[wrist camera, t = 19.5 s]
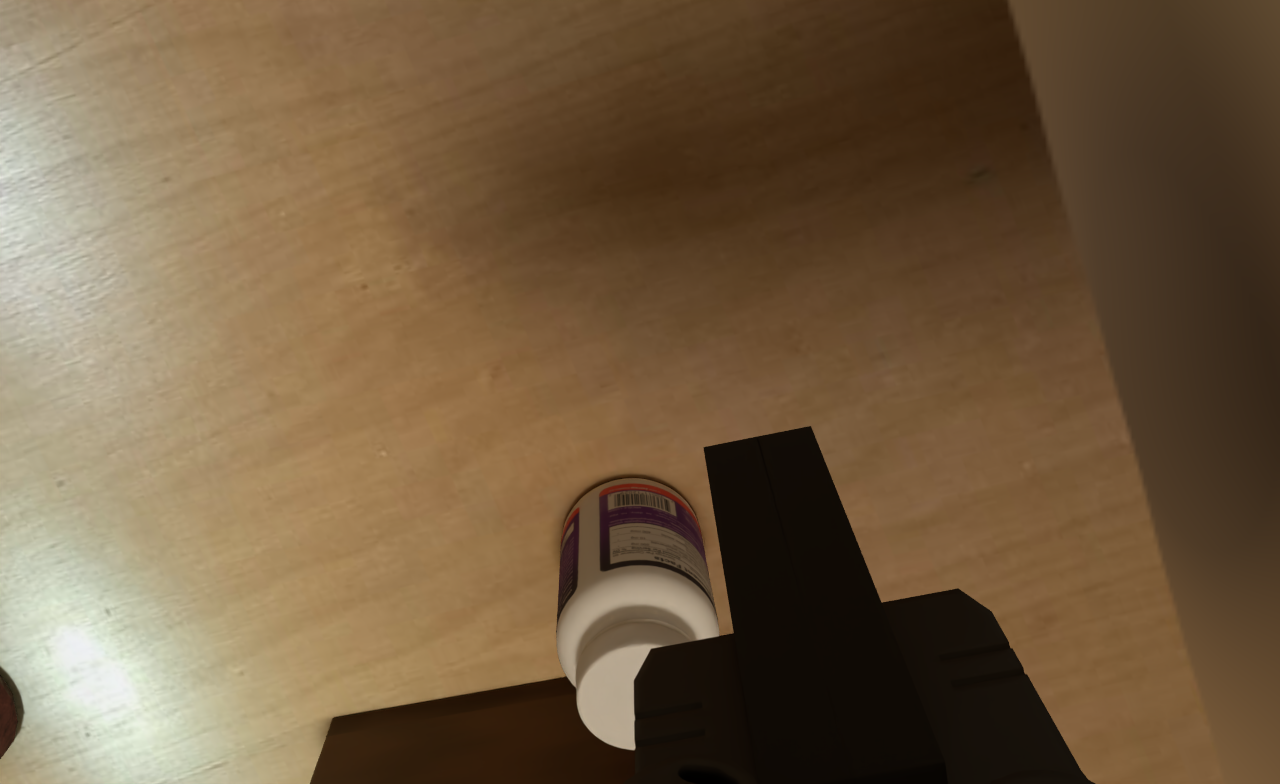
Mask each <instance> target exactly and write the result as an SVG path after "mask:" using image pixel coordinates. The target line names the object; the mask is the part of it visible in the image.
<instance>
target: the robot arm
mask: <svg viewBox="0 0 1280 784" xmlns="http://www.w3.org/2000/svg"><path fill="white" fill-rule="evenodd" d="M704 453H705V459H706V465H707V471H708V478H709V484H710V490H711V496H712V502H713V508H714V514H715V520H716V526H717V532H718V539H719V545H720V551H721V557H722V563H723V569H724V575H725V581H726V587H727V594H728V600H729V606H730V612H731V618H732V624H733V630H734V633H733V634H728V635H722V636H717V637H712V638H706V639H701V640H696V641H690V642H685V643H679V644H674V645H669V646H663V647H658V648H653V649H651V650H650V652H649V653H648V655H647V657H646V659H645V661H644V663H643V664H642V666H641V668H640V670H639V672H638V674H637V675H636V677H635V679H634V715H635V720H634V739H635V747H636V748H635V775H633V776H632V777H630V778H629V779H627V780H626V781H625V782H624V783H623V784H1095V783H1093V782H1091V781H1090V780H1088V779H1087V778H1086V776H1085V775H1084V774H1083V772H1082V771H1081V770H1080V768H1079V766H1078V764H1077V762H1076V761H1075V759H1074V757H1073V755H1072V754H1071V752H1070V750H1069V748H1068V747H1067V745H1066V743H1065V741H1064V739H1063V738H1062V736H1061V734H1060V732H1059V731H1058V729H1057V727H1056V725H1055V723H1054V722H1053V720H1052V718H1051V716H1050V715H1049V713H1048V711H1047V709H1046V707H1045V706H1044V704H1043V702H1042V700H1041V699H1040V697H1039V695H1038V693H1037V691H1036V690H1035V688H1034V686H1033V684H1032V683H1031V681H1030V679H1029V677H1028V675H1027V674H1026V675H1025V673H1024V670H1023V667H1022V665H1021V663H1020V661H1019V659H1018V658H1017V656H1016V654H1015V652H1014V651H1013V649H1011V648H1010V646H1009V642H1008V640H1007V638H1006V636H1005V635H1004V633H1003V631H1002V629H1001V628H1000V626H999V624H998V622H997V620H996V619H995V617H994V615H993V613H992V612H991V611H990V610H989V609H987V608H986V607H984V606H983V605H981V604H980V603H978V602H977V601H975V600H974V599H973V598H971V597H970V596H968V595H967V594H965V593H964V592H962V591H961V590H960V589H953V590H948V591H942V592H937V593H932V594H926V595H921V596H915V597H910V598H905V599H899V600H894V601H889V602H883V603H881V600H880V598H879V595H878V593H877V590H876V588H875V585H874V583H873V580H872V578H871V575H870V573H869V570H868V568H867V565H866V563H865V560H864V558H863V555H862V553H861V550H860V548H859V545H858V543H857V540H856V538H855V535H854V533H853V530H852V528H851V525H850V523H849V520H848V518H847V515H846V513H845V510H844V508H843V505H842V503H841V500H840V498H839V495H838V493H837V490H836V488H835V485H834V483H833V480H832V478H831V475H830V473H829V470H828V468H827V465H826V463H825V460H824V458H823V455H822V453H821V450H820V448H819V445H818V443H817V440H816V438H815V435H814V433H813V430H812V428H811V426H809V427H804V428H799V429H794V430H789V431H784V432H778V433H773V434H768V435H763V436H758V437H753V438H748V439H743V440H738V441H733V442H728V443H723V444H718V445H713V446H708V447H704Z"/></svg>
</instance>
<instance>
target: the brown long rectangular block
mask: <svg viewBox="0 0 1280 784" xmlns="http://www.w3.org/2000/svg"><path fill="white" fill-rule="evenodd" d="M633 775H635V750H628V749H622V748H618V747H615V746H612V745H610V744H607V743H605V742H604V741H602V740H600V739H599V738H597V737H596V736H595V735H594V734H593V733H591V732H590V731H589V729H588V728H587V727H586V726H585V724H584V723H583V721H582V719H581V717H580V715H579V712H578V708H577V701H576V687H575V686H574V685H573V684H572V683H571V682H570V680H569V679H568V678H563V679H557V680H551V681H545V682H540V683H534V684H528V685H522V686H517V687H511V688H505V689H499V690H494V691H488V692H482V693H476V694H471V695H465V696H459V697H453V698H447V699H442V700H436V701H430V702H424V703H419V704H413V705H407V706H401V707H396V708H390V709H384V710H378V711H373V712H367V713H361V714H355V715H350V716H344V717H338V718H333V719H332V722H331V725H330V728H329V731H328V733H327V736H326V740H325V742H324V745H323V748H322V751H321V754H320V756H319V759H318V762H317V765H316V768H315V770H314V773H313V776H312V779H311V782H310V784H623V783H624V782H625V781H626V780H627V779H629V778H630V777H632V776H633Z"/></svg>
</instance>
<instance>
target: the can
mask: <svg viewBox="0 0 1280 784" xmlns="http://www.w3.org/2000/svg"><path fill="white" fill-rule="evenodd" d="M17 722H18V720H17V713H16V707H15V703H14V699H13V694H12V692H11V691H10V689H9V687H8V686H7V684H6V683H5V681H4V679H3V678H2V676H0V759H1V757H2V756H3V755H4V753H5V752H6V751H7V749H8V748H9V746H10V745H11V743H12V742H13V741H14V738H15V733H16V727H17Z"/></svg>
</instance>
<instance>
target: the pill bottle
mask: <svg viewBox="0 0 1280 784" xmlns="http://www.w3.org/2000/svg"><path fill="white" fill-rule="evenodd" d="M556 633H557V637H556V638H557V651H558V657H559V660H560V663H561V666H562V668H563V671H564V672H565V674H566V676H567V677H568V679H569V680H570V682H571V683H572V684H573V685H574V686H575V687H576V701H577V708H578V712H579V715H580V717H581V719H582V721H583V723H584V724H585V726H586V727H587V728H588V729H589V731H590V732H591V733H593V734H594V735H595V736H596V737H597V738H599V739H600V740H602V741H604V742H605V743H607V744H610V745H612V746H615V747H618V748H622V749H628V750H635V748H636V747H635V739H634V720H635V715H634V679H635V677H636V675H637V674H638V672H639V670H640V668H641V666H642V664H643V663H644V661H645V659H646V657H647V655H648V653H649V652H650V650H651V649H653V648H658V647H663V646H669V645H674V644H679V643H685V642H690V641H696V640H701V639H706V638H712V637H717V636H719V626H718V620H717V614H716V609H715V604H714V599H713V594H712V588H711V584H710V579H709V573H708V568H707V562H706V557H705V551H704V546H703V540H702V535H701V531H700V527H699V524H698V521H697V518H696V516H695V514H694V512H693V510H692V509H691V507H690V506H689V504H688V503H687V502H686V501H685V500H684V499H683V498H682V497H681V496H680V495H679V494H678V493H677V492H675V491H674V490H672V489H670V488H669V487H667V486H665V485H663V484H660V483H658V482H654V481H651V480H646V479H640V478H625V479H619V480H614V481H611V482H608V483H605V484H602V485H600V486H598V487H596V488H594V489H593V490H591V491H590V492H588V493H587V494H585V495H584V496H583V497H582V498H581V499H580V500H579V501H578V502H577V504H576V505H575V506H574V507H573V509H572V510H571V512H570V514H569V515H568V517H567V519H566V522H565V525H564V528H563V533H562V540H561V551H560V575H559V594H558V613H557V630H556Z"/></svg>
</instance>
